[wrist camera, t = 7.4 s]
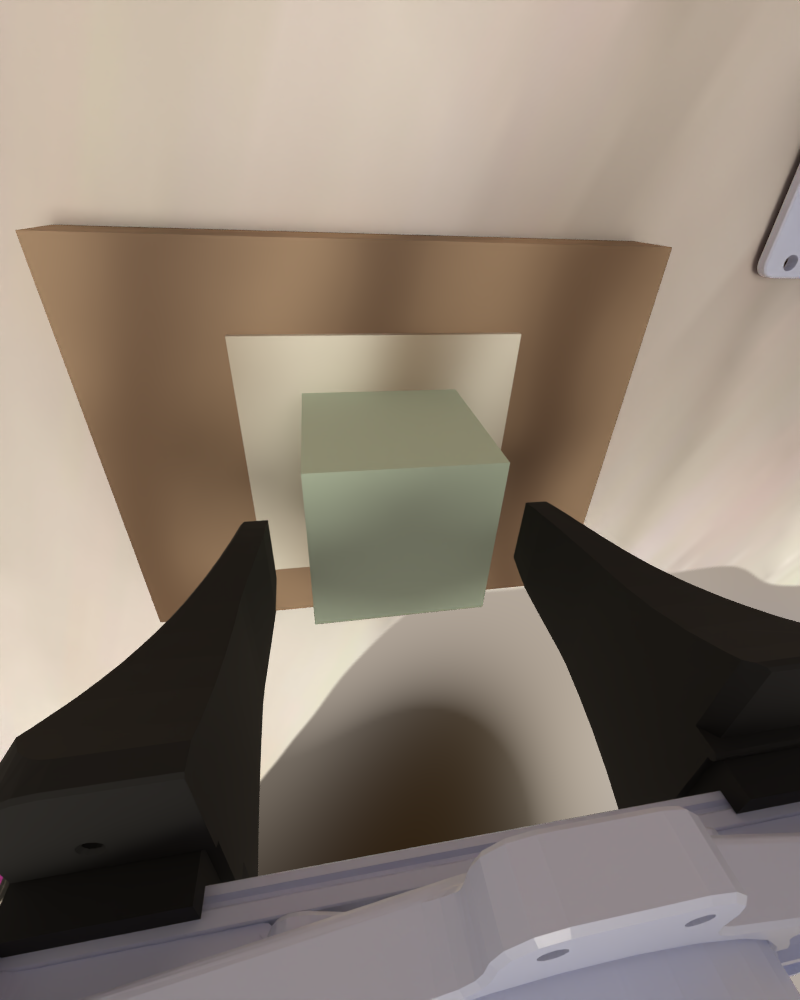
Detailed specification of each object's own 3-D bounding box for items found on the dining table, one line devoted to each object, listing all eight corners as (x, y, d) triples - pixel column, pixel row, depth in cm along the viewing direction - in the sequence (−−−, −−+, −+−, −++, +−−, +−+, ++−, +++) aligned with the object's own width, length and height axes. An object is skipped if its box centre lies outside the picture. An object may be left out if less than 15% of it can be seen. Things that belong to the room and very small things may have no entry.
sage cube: (455, 389, 15) (510, 462, 11) (442, 511, 18) (482, 606, 14) (301, 393, 14) (300, 473, 10) (312, 521, 17) (315, 624, 13)
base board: (634, 241, 16) (676, 247, 14) (546, 554, 24) (566, 584, 22) (52, 224, 13) (11, 230, 11) (171, 587, 21) (159, 625, 19)
